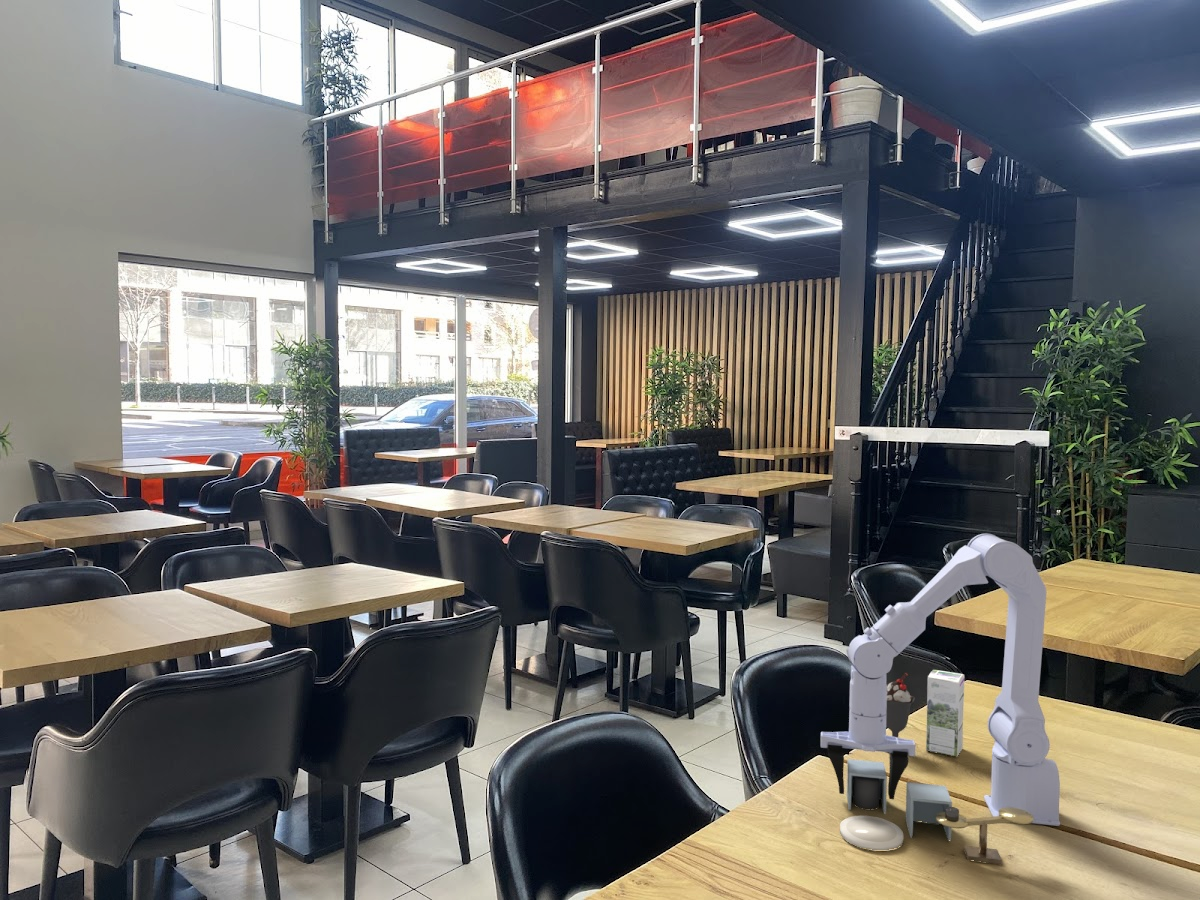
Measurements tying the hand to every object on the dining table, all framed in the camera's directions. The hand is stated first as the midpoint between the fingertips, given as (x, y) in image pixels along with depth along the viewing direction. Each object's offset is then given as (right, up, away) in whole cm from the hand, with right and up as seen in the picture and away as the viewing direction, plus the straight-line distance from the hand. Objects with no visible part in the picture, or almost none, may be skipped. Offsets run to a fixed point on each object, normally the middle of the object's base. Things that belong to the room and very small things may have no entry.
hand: (866, 794), depth 138 cm
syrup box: (+22, -1, +23) cm, 31 cm away
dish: (-3, -2, -11) cm, 11 cm away
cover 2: (+7, -2, -9) cm, 11 cm away
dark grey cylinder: (0, -2, 0) cm, 2 cm away
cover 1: (0, -2, 0) cm, 2 cm away
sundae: (+13, -1, +23) cm, 26 cm away
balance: (+12, -2, -17) cm, 20 cm away
